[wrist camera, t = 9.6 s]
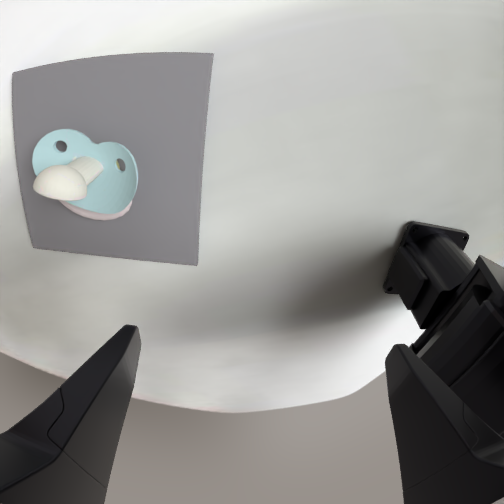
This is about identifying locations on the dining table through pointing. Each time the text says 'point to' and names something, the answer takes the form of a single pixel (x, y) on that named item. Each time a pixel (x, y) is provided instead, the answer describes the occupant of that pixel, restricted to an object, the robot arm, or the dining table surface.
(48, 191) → the pacifier
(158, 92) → the mat
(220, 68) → the dining table surface
